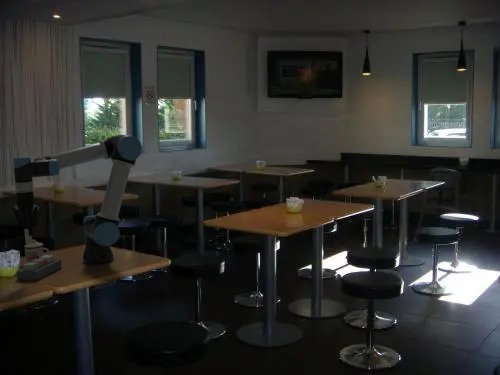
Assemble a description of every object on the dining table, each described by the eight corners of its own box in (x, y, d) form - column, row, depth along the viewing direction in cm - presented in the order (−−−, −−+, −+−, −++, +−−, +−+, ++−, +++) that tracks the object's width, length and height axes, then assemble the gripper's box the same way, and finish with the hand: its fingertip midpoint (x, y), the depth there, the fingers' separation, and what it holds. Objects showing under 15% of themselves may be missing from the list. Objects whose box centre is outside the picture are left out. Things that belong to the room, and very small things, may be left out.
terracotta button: (47, 266, 297) (46, 258, 297) (41, 268, 292) (40, 261, 292) (37, 266, 298) (37, 258, 298) (32, 268, 293) (31, 261, 293)
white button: (54, 262, 304) (54, 255, 303) (49, 265, 299) (48, 257, 299) (45, 262, 305) (44, 255, 304) (40, 264, 300) (39, 257, 300)
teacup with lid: (22, 265, 314) (20, 242, 312) (30, 260, 323) (28, 238, 321) (46, 264, 313) (44, 241, 311) (53, 260, 322) (51, 237, 320)
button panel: (61, 267, 305) (61, 259, 305) (37, 280, 284) (36, 271, 283) (42, 267, 307) (42, 259, 307) (17, 279, 286) (16, 271, 286)
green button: (39, 270, 290) (38, 262, 290) (33, 272, 286) (32, 265, 285) (29, 269, 291) (28, 262, 291) (23, 272, 287) (23, 264, 286)
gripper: (6, 192, 282) (11, 244, 285) (33, 192, 279) (37, 244, 282) (16, 190, 289) (20, 240, 292) (42, 190, 286) (46, 241, 289)
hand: (28, 242), depth 287 cm, fingers closed
